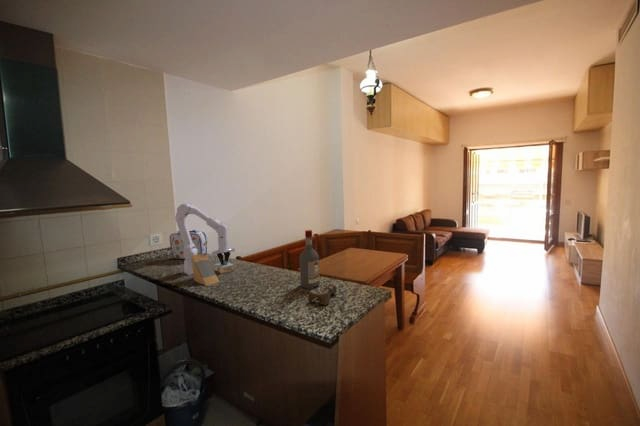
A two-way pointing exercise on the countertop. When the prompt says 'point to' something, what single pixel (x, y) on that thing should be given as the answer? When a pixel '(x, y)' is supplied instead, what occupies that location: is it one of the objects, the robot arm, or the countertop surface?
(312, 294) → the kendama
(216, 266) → the box
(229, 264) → the lid
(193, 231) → the lunch box
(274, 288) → the countertop surface
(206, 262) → the sandwich container
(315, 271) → the liquor
